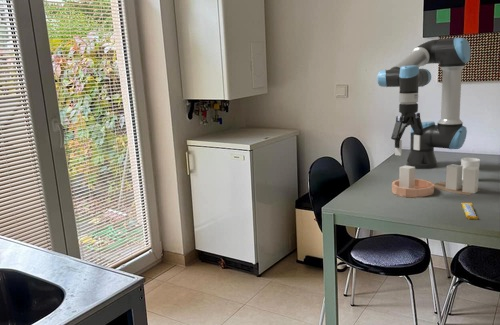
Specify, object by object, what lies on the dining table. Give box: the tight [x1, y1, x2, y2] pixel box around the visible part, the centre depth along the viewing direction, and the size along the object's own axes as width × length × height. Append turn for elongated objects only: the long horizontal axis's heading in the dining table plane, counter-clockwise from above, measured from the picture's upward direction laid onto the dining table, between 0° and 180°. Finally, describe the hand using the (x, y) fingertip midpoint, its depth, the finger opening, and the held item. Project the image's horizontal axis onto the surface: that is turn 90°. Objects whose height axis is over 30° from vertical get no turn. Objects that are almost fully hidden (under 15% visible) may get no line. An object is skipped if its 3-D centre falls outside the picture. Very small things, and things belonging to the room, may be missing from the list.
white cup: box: [460, 157, 481, 181], centre depth 210 cm, size 8×8×10 cm
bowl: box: [391, 178, 435, 199], centre depth 197 cm, size 17×17×4 cm
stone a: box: [398, 164, 416, 189], centre depth 199 cm, size 4×5×10 cm
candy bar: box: [460, 202, 479, 220], centre depth 170 cm, size 17×4×2 cm, turn 162°
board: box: [434, 181, 483, 196], centre depth 198 cm, size 12×19×1 cm, turn 38°
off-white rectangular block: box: [445, 163, 463, 190], centre depth 197 cm, size 4×5×10 cm
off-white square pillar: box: [462, 167, 480, 194], centre depth 192 cm, size 4×5×10 cm
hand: (407, 152), depth 196 cm, fingers open, 13 cm apart
